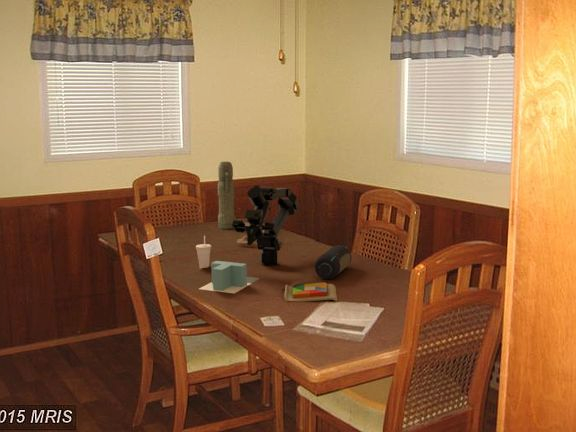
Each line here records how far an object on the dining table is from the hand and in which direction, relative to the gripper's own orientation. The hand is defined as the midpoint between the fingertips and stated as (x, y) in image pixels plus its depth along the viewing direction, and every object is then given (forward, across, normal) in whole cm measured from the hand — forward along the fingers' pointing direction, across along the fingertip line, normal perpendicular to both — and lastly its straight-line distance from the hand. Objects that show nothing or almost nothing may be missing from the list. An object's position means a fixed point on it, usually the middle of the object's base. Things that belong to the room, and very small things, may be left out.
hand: (248, 244), depth 288 cm
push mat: (+20, 0, -3) cm, 21 cm away
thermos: (-48, -53, +67) cm, 98 cm away
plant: (-28, -21, +47) cm, 59 cm away
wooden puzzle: (+20, +33, -2) cm, 39 cm away
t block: (+23, 0, -6) cm, 24 cm away
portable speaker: (-2, +31, +20) cm, 37 cm away
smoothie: (+7, -22, +11) cm, 25 cm away
